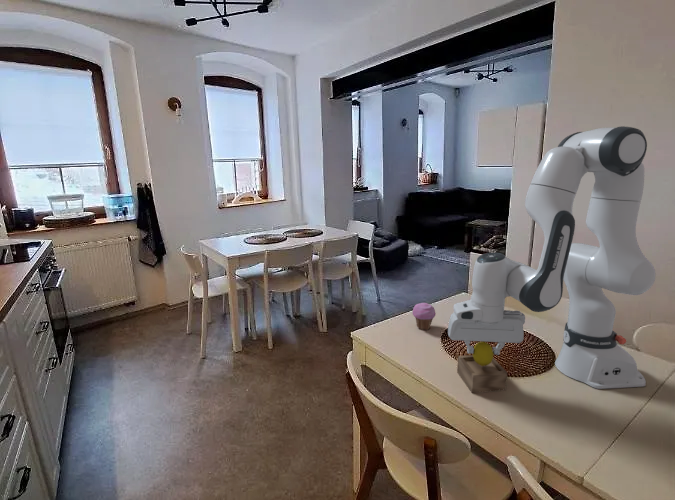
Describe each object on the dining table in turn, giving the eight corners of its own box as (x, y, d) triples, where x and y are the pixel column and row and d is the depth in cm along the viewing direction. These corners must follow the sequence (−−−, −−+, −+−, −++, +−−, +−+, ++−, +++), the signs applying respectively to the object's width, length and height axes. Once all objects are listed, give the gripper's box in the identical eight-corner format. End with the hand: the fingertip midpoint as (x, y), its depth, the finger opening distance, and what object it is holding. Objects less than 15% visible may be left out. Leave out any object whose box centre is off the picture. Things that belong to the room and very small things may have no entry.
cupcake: (434, 334, 135) (435, 309, 132) (410, 331, 138) (411, 307, 135) (435, 323, 143) (436, 300, 141) (413, 321, 146) (414, 298, 143)
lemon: (494, 372, 102) (496, 347, 100) (473, 370, 104) (475, 346, 101) (490, 361, 108) (492, 337, 105) (470, 359, 109) (472, 336, 107)
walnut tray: (487, 370, 112) (489, 353, 111) (505, 390, 103) (507, 372, 101) (457, 373, 111) (458, 356, 110) (471, 393, 102) (473, 375, 100)
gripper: (522, 306, 102) (517, 349, 106) (448, 304, 105) (445, 346, 109) (530, 316, 96) (524, 361, 100) (451, 313, 99) (449, 357, 103)
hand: (482, 353), depth 104 cm, fingers open, 6 cm apart
